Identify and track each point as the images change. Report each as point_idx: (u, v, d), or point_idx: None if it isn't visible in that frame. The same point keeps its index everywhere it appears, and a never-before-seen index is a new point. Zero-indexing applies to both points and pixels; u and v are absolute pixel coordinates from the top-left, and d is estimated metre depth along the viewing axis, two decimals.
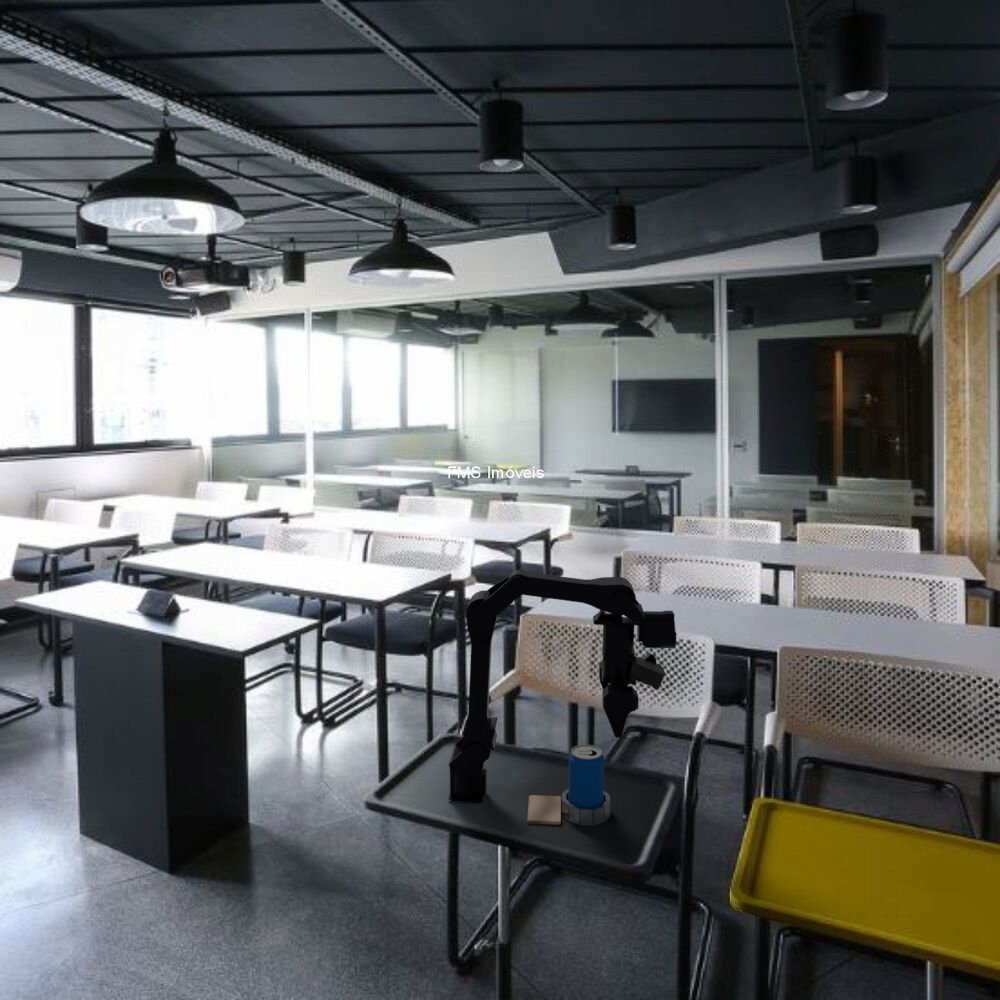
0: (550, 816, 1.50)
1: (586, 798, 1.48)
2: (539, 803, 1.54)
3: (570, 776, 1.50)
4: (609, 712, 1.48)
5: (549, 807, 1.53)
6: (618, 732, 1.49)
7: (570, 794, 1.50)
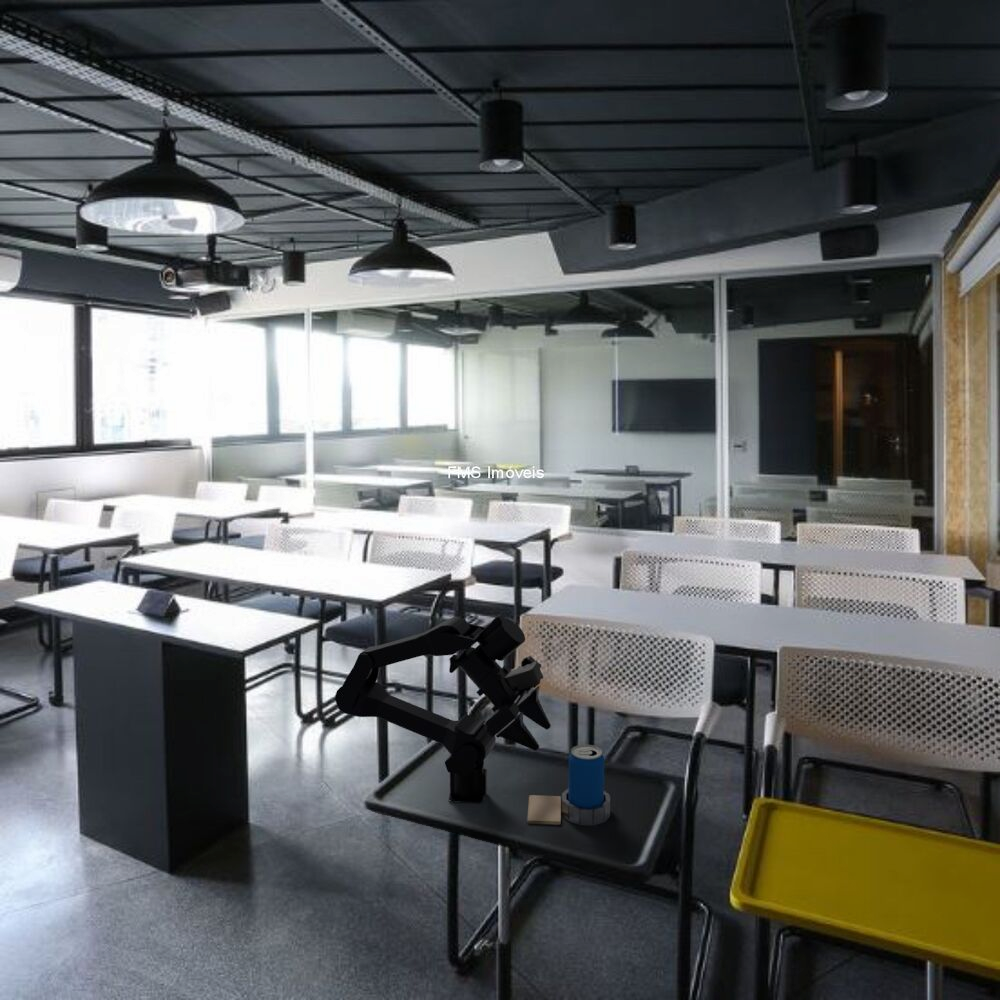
0: (550, 816, 1.50)
1: (586, 798, 1.48)
2: (539, 803, 1.54)
3: (570, 776, 1.50)
4: (507, 735, 1.48)
5: (549, 807, 1.53)
6: (533, 744, 1.48)
7: (570, 794, 1.50)
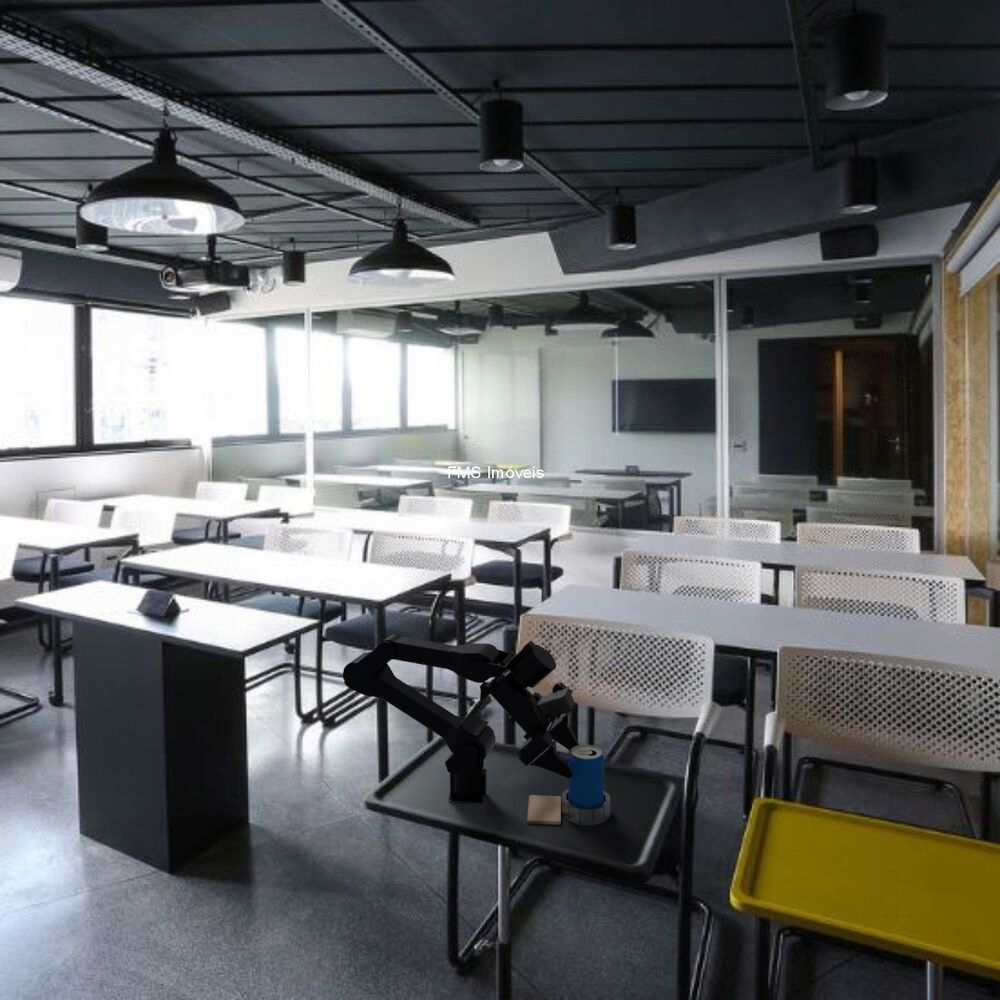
0: (550, 816, 1.50)
1: (586, 798, 1.48)
2: (539, 803, 1.54)
3: None
4: (541, 763, 1.46)
5: (549, 807, 1.53)
6: (566, 772, 1.47)
7: (570, 794, 1.50)
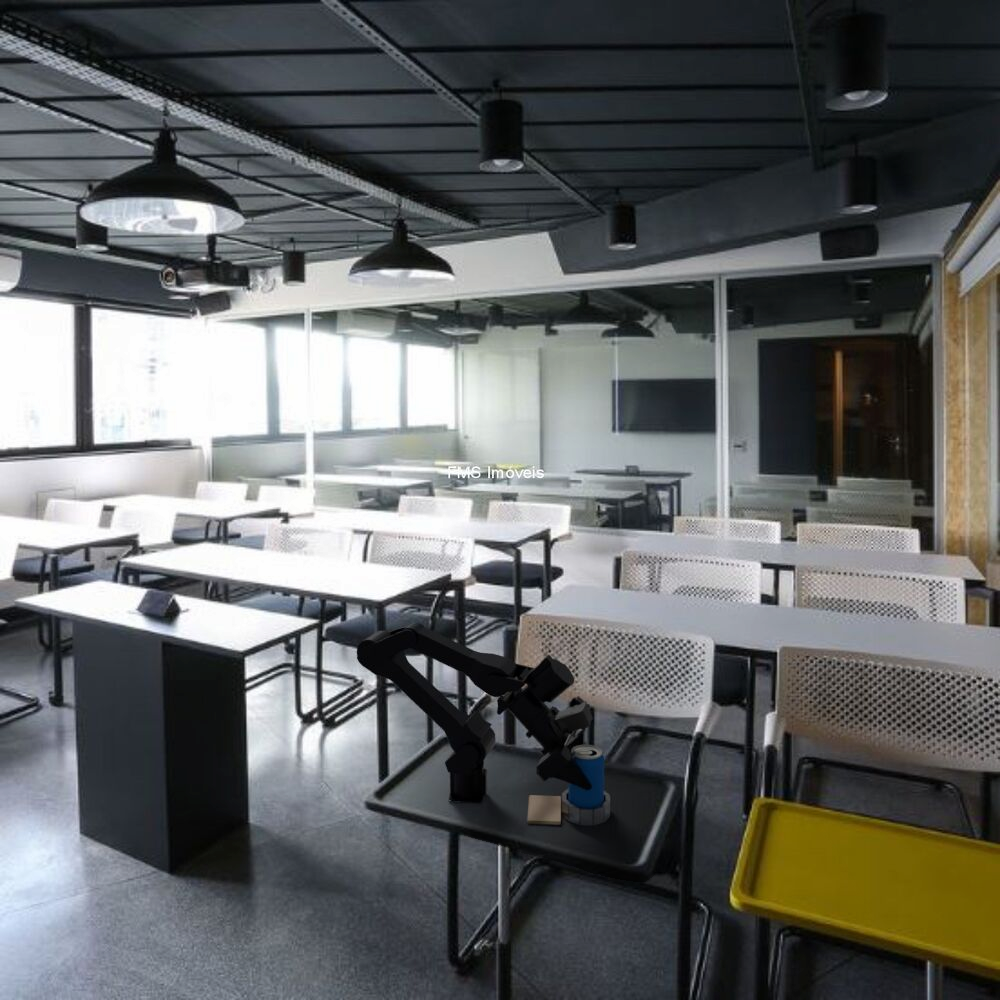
0: (550, 816, 1.50)
1: (586, 798, 1.48)
2: (539, 803, 1.54)
3: None
4: (560, 776, 1.47)
5: (549, 807, 1.53)
6: (585, 784, 1.47)
7: (570, 794, 1.50)
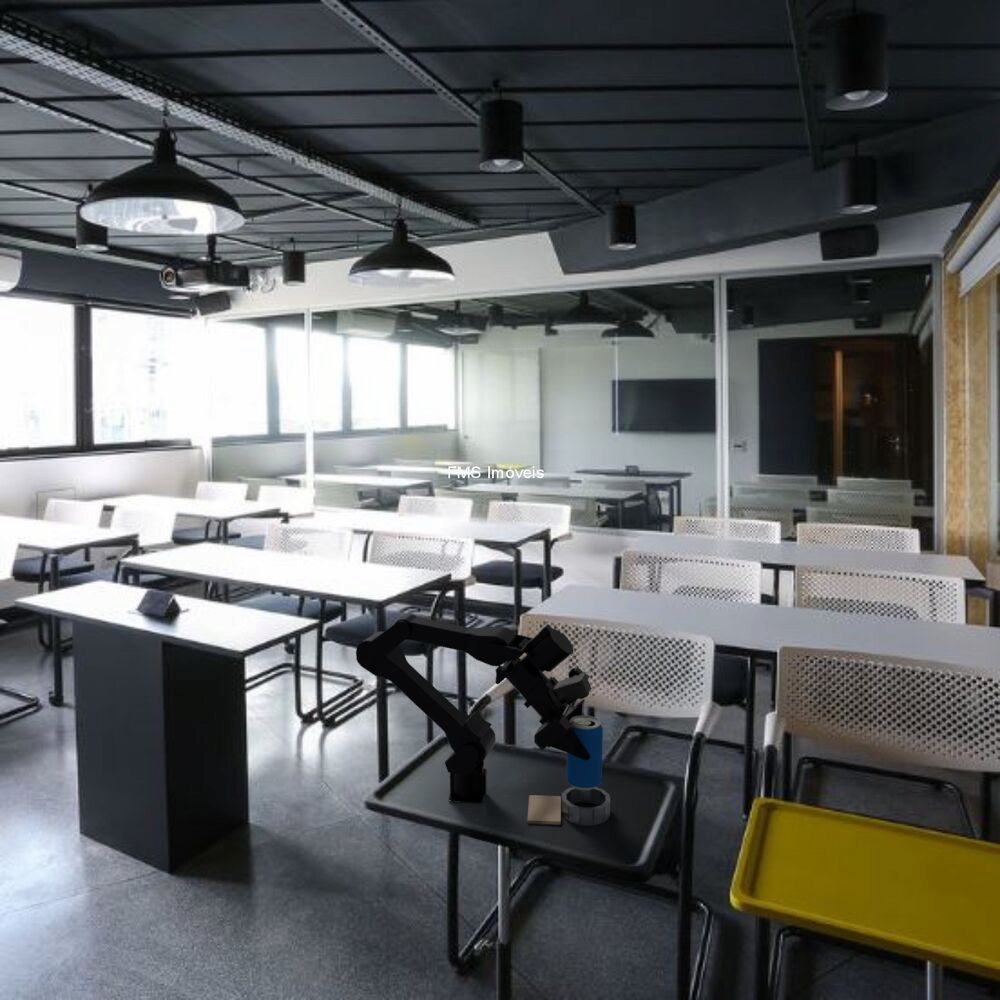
0: (550, 816, 1.50)
1: (585, 768, 1.48)
2: (539, 803, 1.54)
3: None
4: (558, 745, 1.46)
5: (549, 807, 1.53)
6: (583, 754, 1.47)
7: (568, 764, 1.50)
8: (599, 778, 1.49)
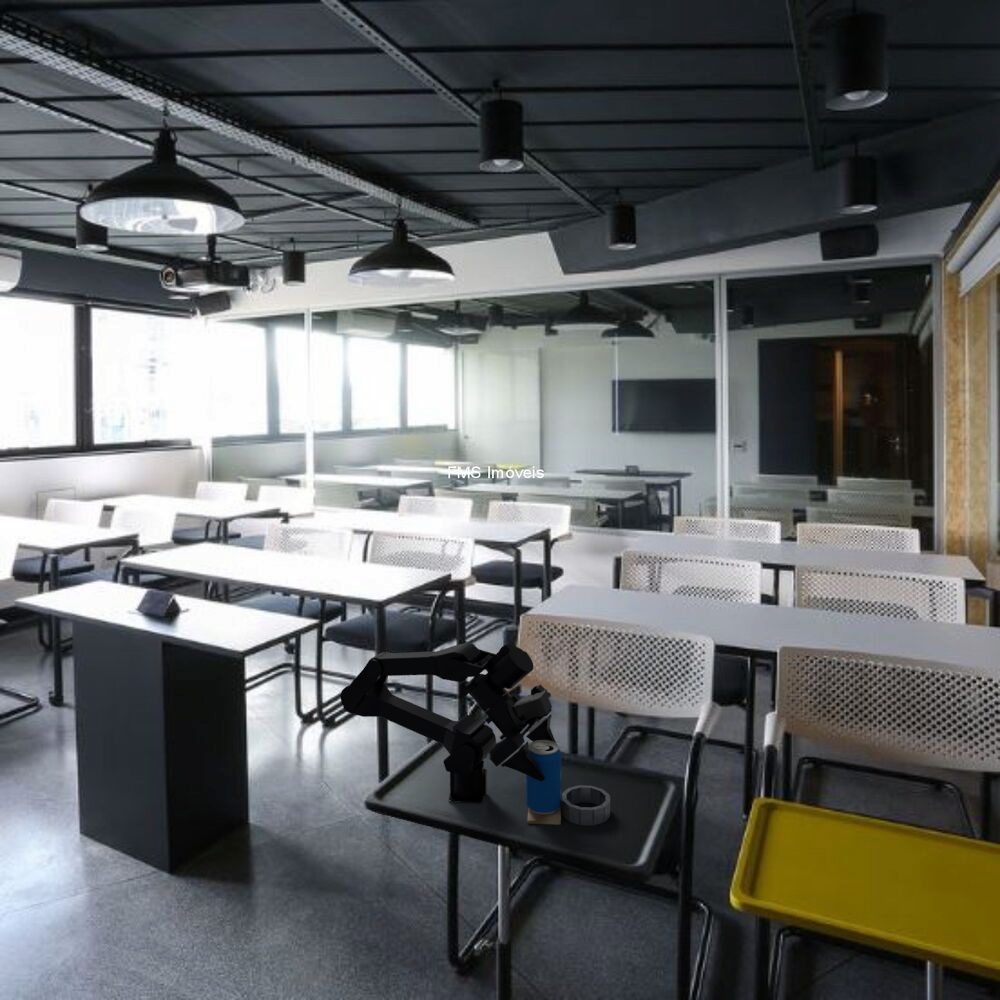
0: (550, 816, 1.50)
1: (542, 793, 1.49)
2: None
3: None
4: (512, 765, 1.47)
5: None
6: (538, 775, 1.47)
7: (527, 788, 1.51)
8: (557, 803, 1.50)
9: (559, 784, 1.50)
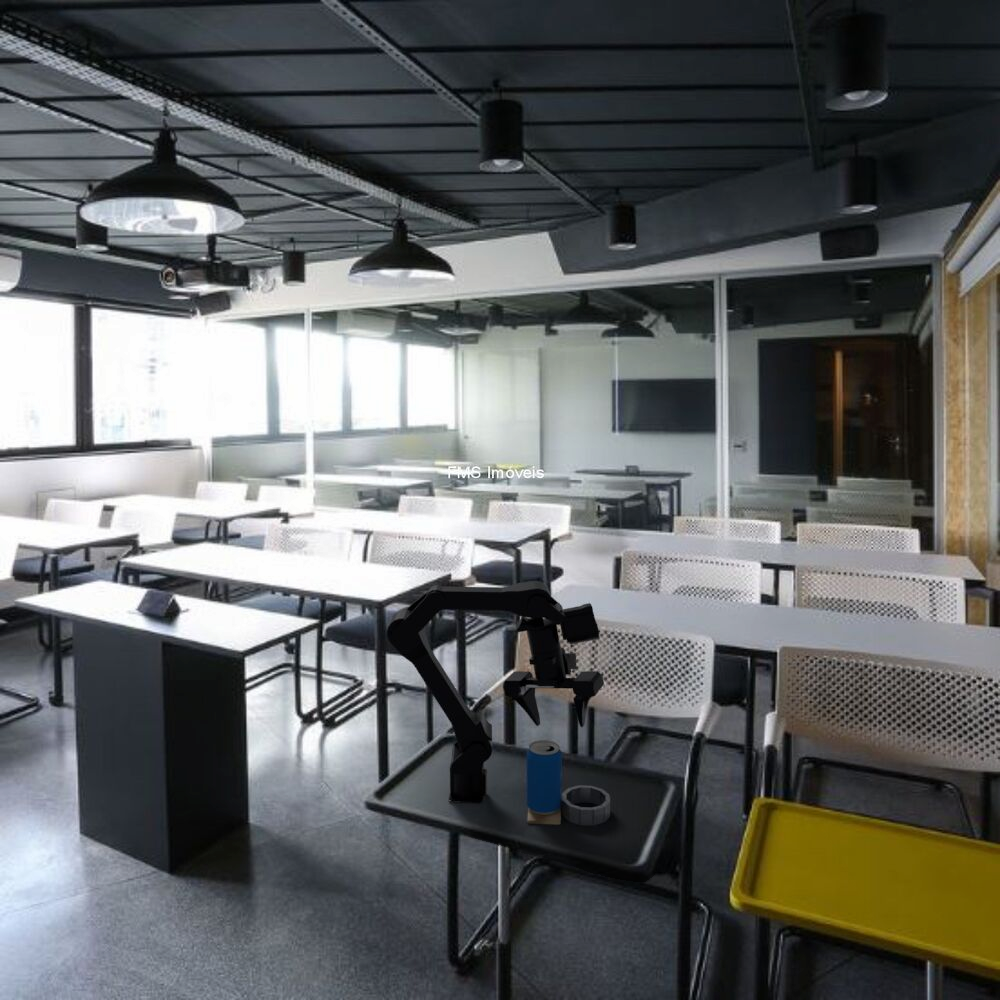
0: (550, 816, 1.50)
1: (542, 793, 1.49)
2: None
3: (527, 771, 1.51)
4: None
5: None
6: (583, 720, 1.55)
7: (527, 788, 1.51)
8: (557, 803, 1.50)
9: (559, 784, 1.50)
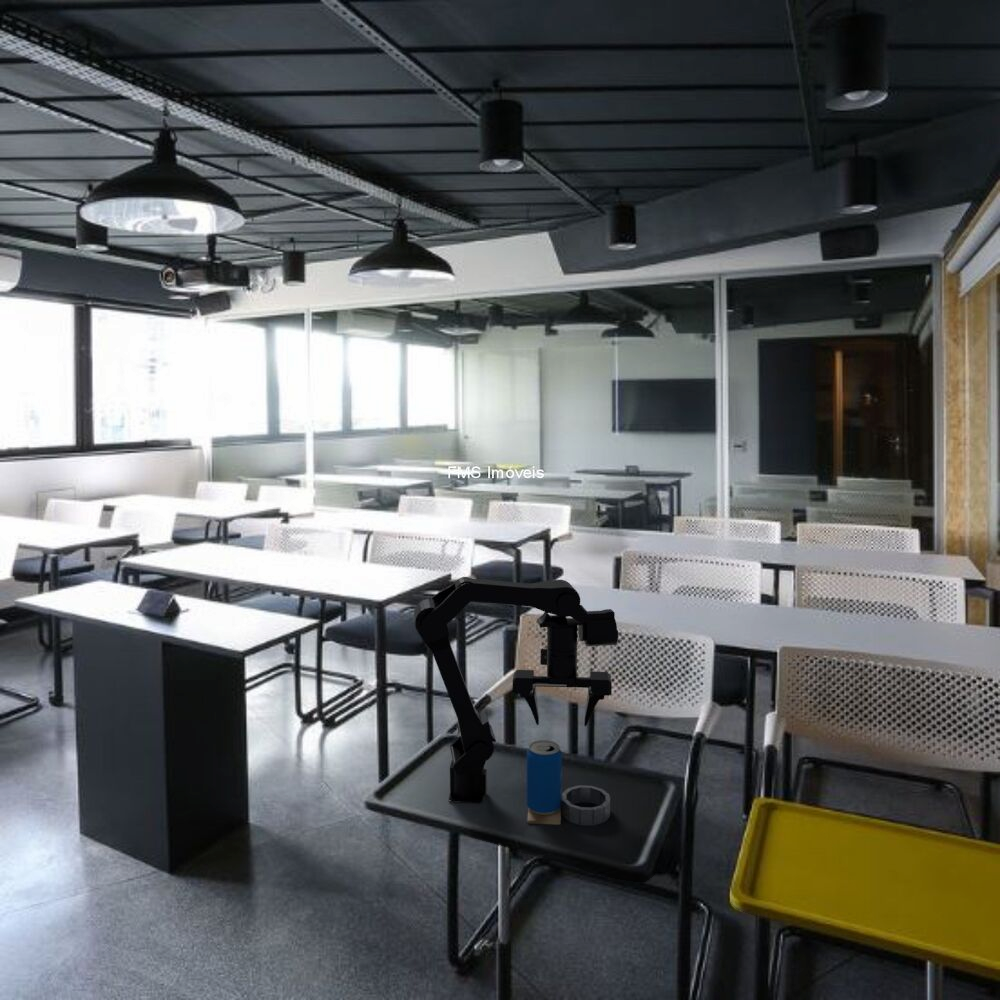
0: (550, 816, 1.50)
1: (542, 793, 1.49)
2: None
3: (527, 771, 1.51)
4: None
5: None
6: None
7: (527, 788, 1.51)
8: (557, 803, 1.50)
9: (559, 784, 1.50)
